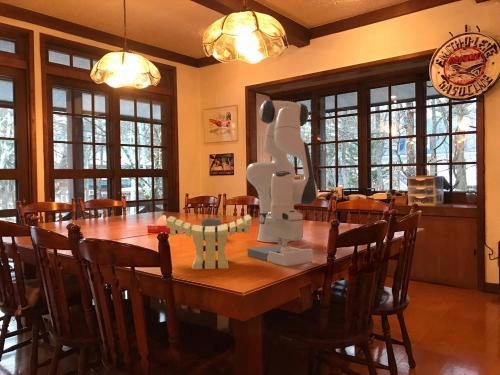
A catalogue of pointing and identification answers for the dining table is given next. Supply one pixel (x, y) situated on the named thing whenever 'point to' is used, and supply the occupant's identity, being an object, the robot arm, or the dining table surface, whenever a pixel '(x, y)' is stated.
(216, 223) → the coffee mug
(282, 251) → the tile cream
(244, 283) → the dining table surface
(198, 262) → the slatted curved stool
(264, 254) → the board
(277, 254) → the box
